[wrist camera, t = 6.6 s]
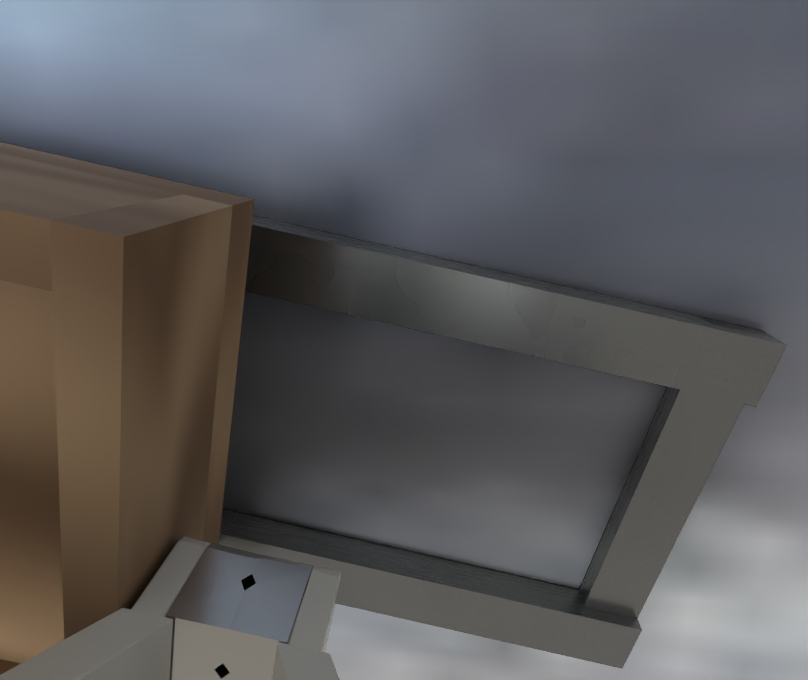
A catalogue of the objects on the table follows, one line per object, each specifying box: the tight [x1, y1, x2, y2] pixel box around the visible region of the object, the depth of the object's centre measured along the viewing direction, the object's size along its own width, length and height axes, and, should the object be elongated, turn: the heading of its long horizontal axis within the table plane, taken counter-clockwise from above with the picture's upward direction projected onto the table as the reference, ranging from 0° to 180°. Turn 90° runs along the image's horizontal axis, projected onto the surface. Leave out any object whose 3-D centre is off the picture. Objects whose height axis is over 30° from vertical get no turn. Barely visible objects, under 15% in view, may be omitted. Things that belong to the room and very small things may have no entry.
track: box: [219, 216, 787, 668], centre depth 14 cm, size 11×27×2 cm, turn 78°
